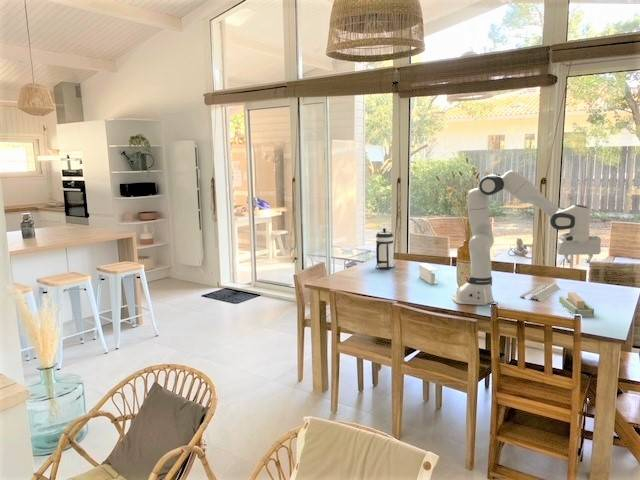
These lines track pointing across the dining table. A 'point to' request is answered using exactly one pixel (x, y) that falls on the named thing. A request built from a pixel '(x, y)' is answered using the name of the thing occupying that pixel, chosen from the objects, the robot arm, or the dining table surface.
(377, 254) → the coffee press
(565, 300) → the green rectangular tray
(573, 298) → the tan rectangular block
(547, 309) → the dining table surface
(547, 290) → the crown molding
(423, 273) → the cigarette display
